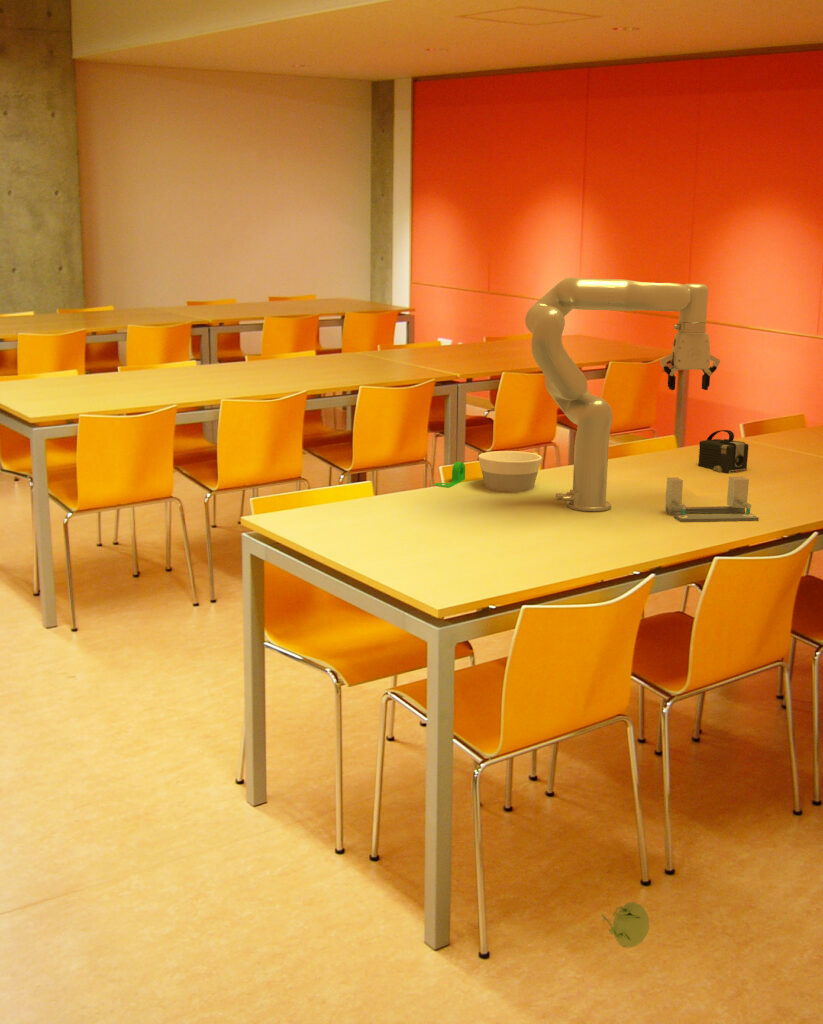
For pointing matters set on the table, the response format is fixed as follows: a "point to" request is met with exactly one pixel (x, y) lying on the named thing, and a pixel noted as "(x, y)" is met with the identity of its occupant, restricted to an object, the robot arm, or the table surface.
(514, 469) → the bowl
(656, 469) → the table surface
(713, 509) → the rail with fixed leg
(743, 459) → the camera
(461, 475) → the mechanical part
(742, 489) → the sliding leg
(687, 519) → the gauge plate
